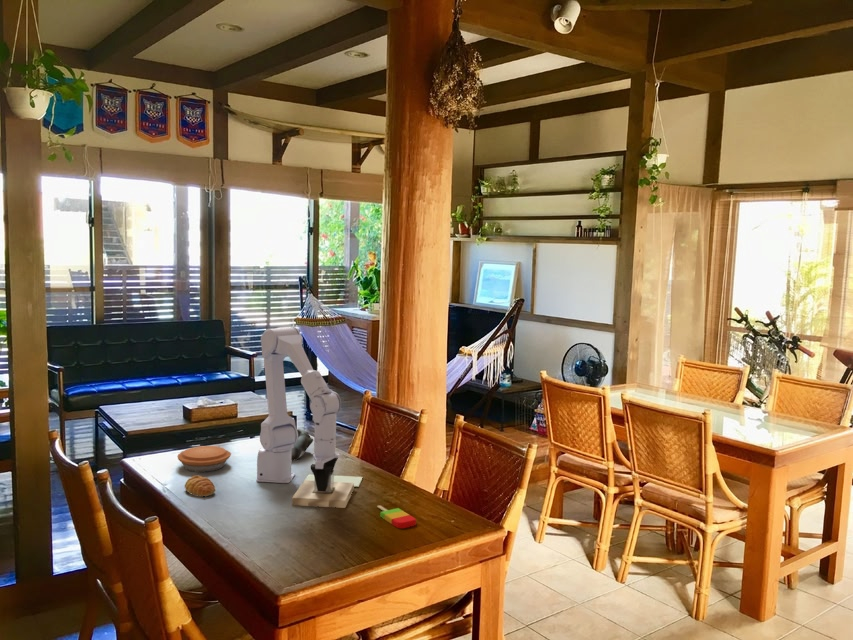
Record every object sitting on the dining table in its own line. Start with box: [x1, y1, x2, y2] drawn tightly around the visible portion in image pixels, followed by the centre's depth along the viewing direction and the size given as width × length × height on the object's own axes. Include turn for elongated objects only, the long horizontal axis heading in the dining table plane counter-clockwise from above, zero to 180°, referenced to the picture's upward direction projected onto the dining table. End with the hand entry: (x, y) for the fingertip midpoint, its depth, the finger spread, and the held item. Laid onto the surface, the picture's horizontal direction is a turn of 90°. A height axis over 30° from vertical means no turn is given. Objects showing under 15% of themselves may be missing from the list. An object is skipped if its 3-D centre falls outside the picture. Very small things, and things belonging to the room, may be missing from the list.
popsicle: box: [376, 504, 417, 529], centre depth 181 cm, size 6×15×2 cm, turn 34°
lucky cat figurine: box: [275, 424, 314, 461], centre depth 229 cm, size 15×12×14 cm
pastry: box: [184, 475, 216, 497], centre depth 194 cm, size 9×7×4 cm
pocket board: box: [291, 479, 355, 509], centre depth 193 cm, size 14×14×2 cm
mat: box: [304, 473, 364, 487], centre depth 206 cm, size 16×8×1 cm, turn 87°
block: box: [314, 469, 335, 494], centre depth 192 cm, size 4×4×7 cm
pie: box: [177, 445, 232, 473], centre depth 216 cm, size 16×16×5 cm
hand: (324, 486), depth 193 cm, fingers open, 6 cm apart
